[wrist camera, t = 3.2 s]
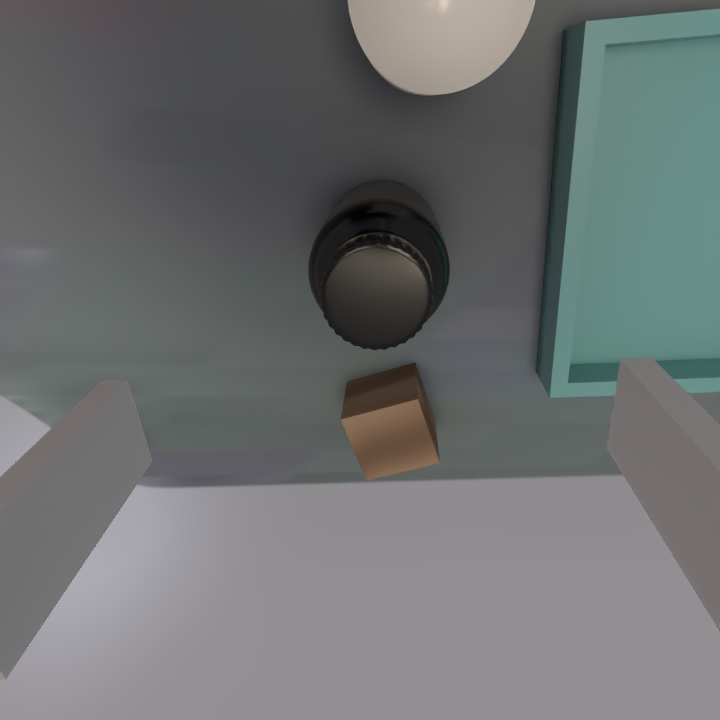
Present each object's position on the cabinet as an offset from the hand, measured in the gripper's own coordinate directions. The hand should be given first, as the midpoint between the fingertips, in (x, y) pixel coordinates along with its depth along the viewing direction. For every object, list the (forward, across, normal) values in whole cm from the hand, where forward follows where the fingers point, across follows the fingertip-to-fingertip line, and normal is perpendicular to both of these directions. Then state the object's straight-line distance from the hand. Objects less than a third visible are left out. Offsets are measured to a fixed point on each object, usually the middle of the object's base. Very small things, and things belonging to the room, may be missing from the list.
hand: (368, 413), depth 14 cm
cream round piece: (+20, +3, +11) cm, 23 cm away
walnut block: (+20, 0, -12) cm, 24 cm away
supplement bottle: (+21, 0, 0) cm, 21 cm away
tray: (+20, +20, 0) cm, 29 cm away
